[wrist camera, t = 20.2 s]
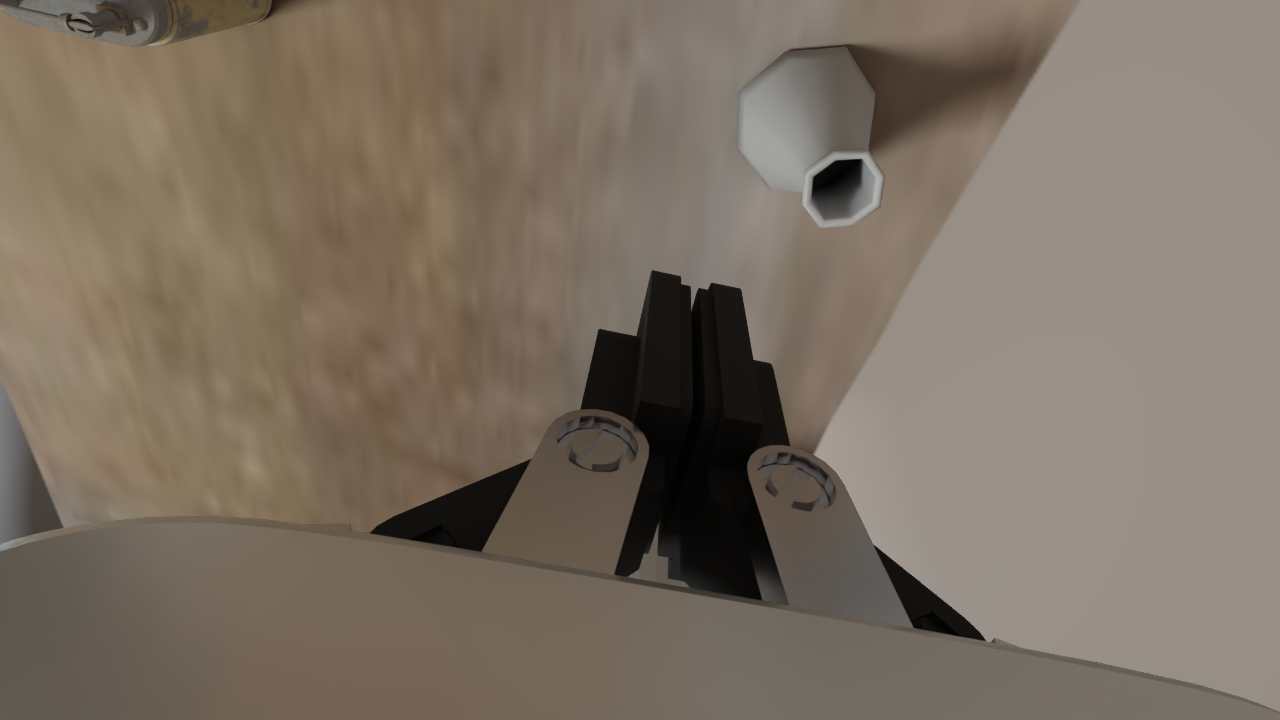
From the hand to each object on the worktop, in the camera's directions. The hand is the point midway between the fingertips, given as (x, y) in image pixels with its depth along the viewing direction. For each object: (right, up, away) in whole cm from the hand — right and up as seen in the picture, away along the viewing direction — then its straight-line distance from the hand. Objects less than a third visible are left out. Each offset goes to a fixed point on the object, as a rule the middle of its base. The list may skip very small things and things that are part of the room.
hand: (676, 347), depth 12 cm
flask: (+8, +12, +21) cm, 25 cm away
